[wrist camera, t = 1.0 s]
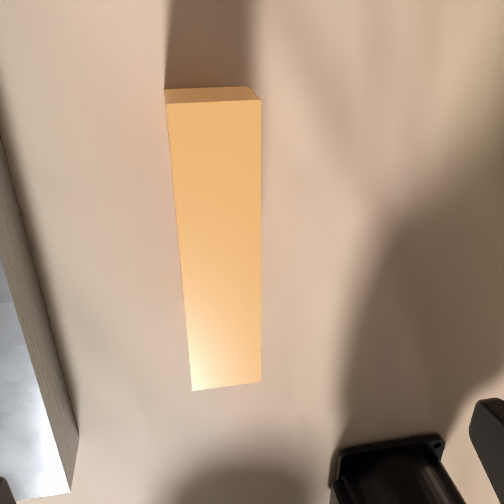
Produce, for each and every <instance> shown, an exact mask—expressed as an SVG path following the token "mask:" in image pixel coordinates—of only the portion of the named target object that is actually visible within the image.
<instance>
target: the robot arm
mask: <svg viewBox="0 0 504 504" xmlns="http://www.w3.org/2000/svg"><path fill="white" fill-rule="evenodd" d="M469 436H470V439H471V442H472V444H473V446H474V448H475V450H476V452H477V454H478V457H479V459H480V461H481V463H482V465H483V467H484V469H485V471H486V474H487V476H488V478H489V480H490V482H491V484H492V486H493V489H494V491H495V493H496V495H497V497H498V499H499V501H500V503H501V504H504V401H503V400H502V399H499V398H489V399H483V400H479V401H478V402H477V403H476V405H475V408H474V412H473V415H472V418H471V422H470V425H469ZM444 446H445V441H444V440H443V438H442V437H441V435H439V434H434V435H428V436H422V437H416V438H409V439H403V440H397V441H391V442H384V443H378V444H372V445H366V446H360V447H353V448H347V449H344V450H342V451H341V452H340V453H339V454H338V460H337V469H336V478H335V480H334V481H333V483H332V485H331V494H330V503H329V504H466V502H465V501H464V499H463V497H462V496H461V494H460V492H459V491H458V489H457V487H456V486H455V484H454V482H453V481H452V479H451V477H450V476H449V474H448V473H447V471H446V469H445V468H444V466H443V464H442V463H441V457H442V454H443V450H444ZM0 504H16V501H15V499H14V496H13V494H12V491H11V489H10V487H9V484H8V482H7V480H6V478H4V477H2V476H0Z"/></svg>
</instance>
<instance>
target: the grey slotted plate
mask: <svg viewBox="0 0 504 504" xmlns="http://www.w3.org/2000/svg"><path fill="white" fill-rule="evenodd" d="M78 443H79V435H78V431H77V427H76V424H75V420H74V416H73V412H72V408H71V405H70V401H69V397H68V393H67V389H66V385H65V382H64V378H63V374H62V370H61V366H60V363H59V359H58V355H57V351H56V347H55V343H54V340H53V336H52V332H51V328H50V324H49V321H48V317H47V313H46V309H45V305H44V302H43V298H42V294H41V290H40V286H39V282H38V279H37V275H36V271H35V267H34V263H33V260H32V256H31V252H30V248H29V244H28V241H27V237H26V233H25V229H24V225H23V221H22V218H21V214H20V210H19V206H18V202H17V199H16V195H15V191H14V187H13V183H12V180H11V176H10V172H9V168H8V164H7V160H6V157H5V153H4V149H3V145H2V141H1V138H0V476H2V477H4V478H6V480H7V482H8V484H9V487H10V489H11V491H12V494H13V496H14V499H15V501H20V500H26V499H32V498H38V497H44V496H51V495H57V494H63V493H69V492H70V491H71V485H72V479H73V473H74V467H75V461H76V455H77V449H78Z"/></svg>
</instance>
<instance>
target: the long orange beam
mask: <svg viewBox="0 0 504 504" xmlns="http://www.w3.org/2000/svg"><path fill="white" fill-rule="evenodd" d="M164 93H165V104H166V115H167V126H168V137H169V147H170V157H171V167H172V177H173V188H174V199H175V210H176V221H177V231H178V242H179V253H180V266H181V277H182V288H183V299H184V309H185V319H186V330H187V340H188V351H189V361H190V371H191V382H192V391H195V390H202V389H210V388H217V387H224V386H232V385H239V384H247V383H254V382H261V99H260V98H259V97H258V96H257V95H256V94H255V93H254V92H253V91H252V89H251V88H250V87H249V86H246V87H235V86H229V87H204V88H180V89H164Z"/></svg>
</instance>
